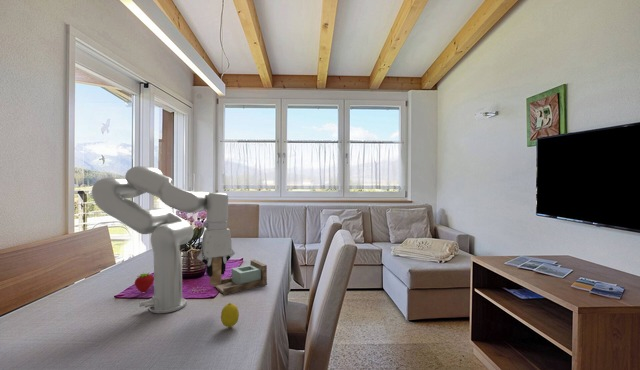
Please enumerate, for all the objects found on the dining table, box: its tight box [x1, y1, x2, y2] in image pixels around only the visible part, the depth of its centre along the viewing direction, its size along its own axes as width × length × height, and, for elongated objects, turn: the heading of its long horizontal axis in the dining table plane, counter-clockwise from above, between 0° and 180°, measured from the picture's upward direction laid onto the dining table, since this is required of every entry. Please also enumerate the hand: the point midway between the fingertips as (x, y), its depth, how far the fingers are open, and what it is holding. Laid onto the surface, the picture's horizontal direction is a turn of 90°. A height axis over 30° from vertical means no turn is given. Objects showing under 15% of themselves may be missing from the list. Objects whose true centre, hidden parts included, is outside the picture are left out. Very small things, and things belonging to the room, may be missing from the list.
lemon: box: [220, 302, 240, 329], centre depth 95 cm, size 6×6×8 cm
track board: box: [213, 259, 268, 296], centre depth 135 cm, size 20×13×9 cm, turn 128°
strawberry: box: [134, 272, 154, 293], centre depth 126 cm, size 6×8×10 cm
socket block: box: [231, 264, 261, 285], centre depth 137 cm, size 10×10×6 cm
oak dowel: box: [209, 257, 222, 286], centre depth 110 cm, size 4×4×10 cm
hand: (215, 274), depth 110 cm, fingers closed on oak dowel, 4 cm apart
